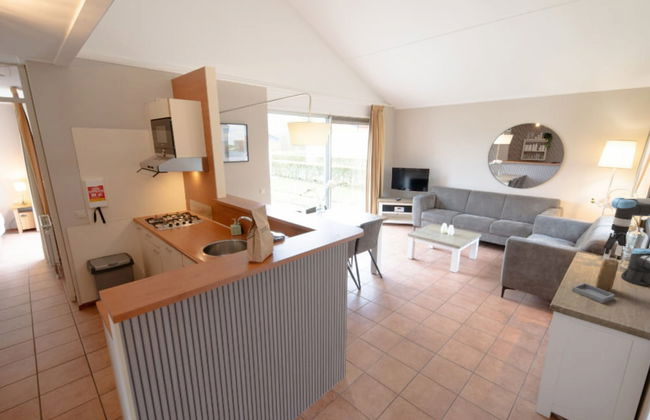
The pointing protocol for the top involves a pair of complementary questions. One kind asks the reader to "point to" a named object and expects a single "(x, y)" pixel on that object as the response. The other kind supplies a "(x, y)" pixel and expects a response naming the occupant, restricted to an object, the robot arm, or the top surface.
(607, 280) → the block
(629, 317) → the top surface
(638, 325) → the top surface
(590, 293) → the tray
